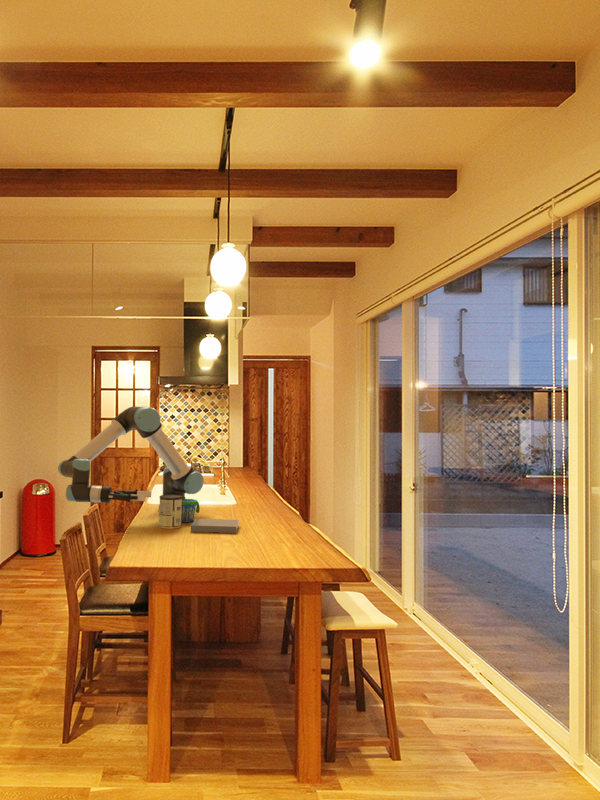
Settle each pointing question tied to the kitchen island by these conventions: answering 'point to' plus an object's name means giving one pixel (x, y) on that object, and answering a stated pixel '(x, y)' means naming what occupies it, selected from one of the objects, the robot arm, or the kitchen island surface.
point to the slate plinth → (215, 525)
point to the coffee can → (170, 511)
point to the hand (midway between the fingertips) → (148, 496)
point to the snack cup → (189, 509)
